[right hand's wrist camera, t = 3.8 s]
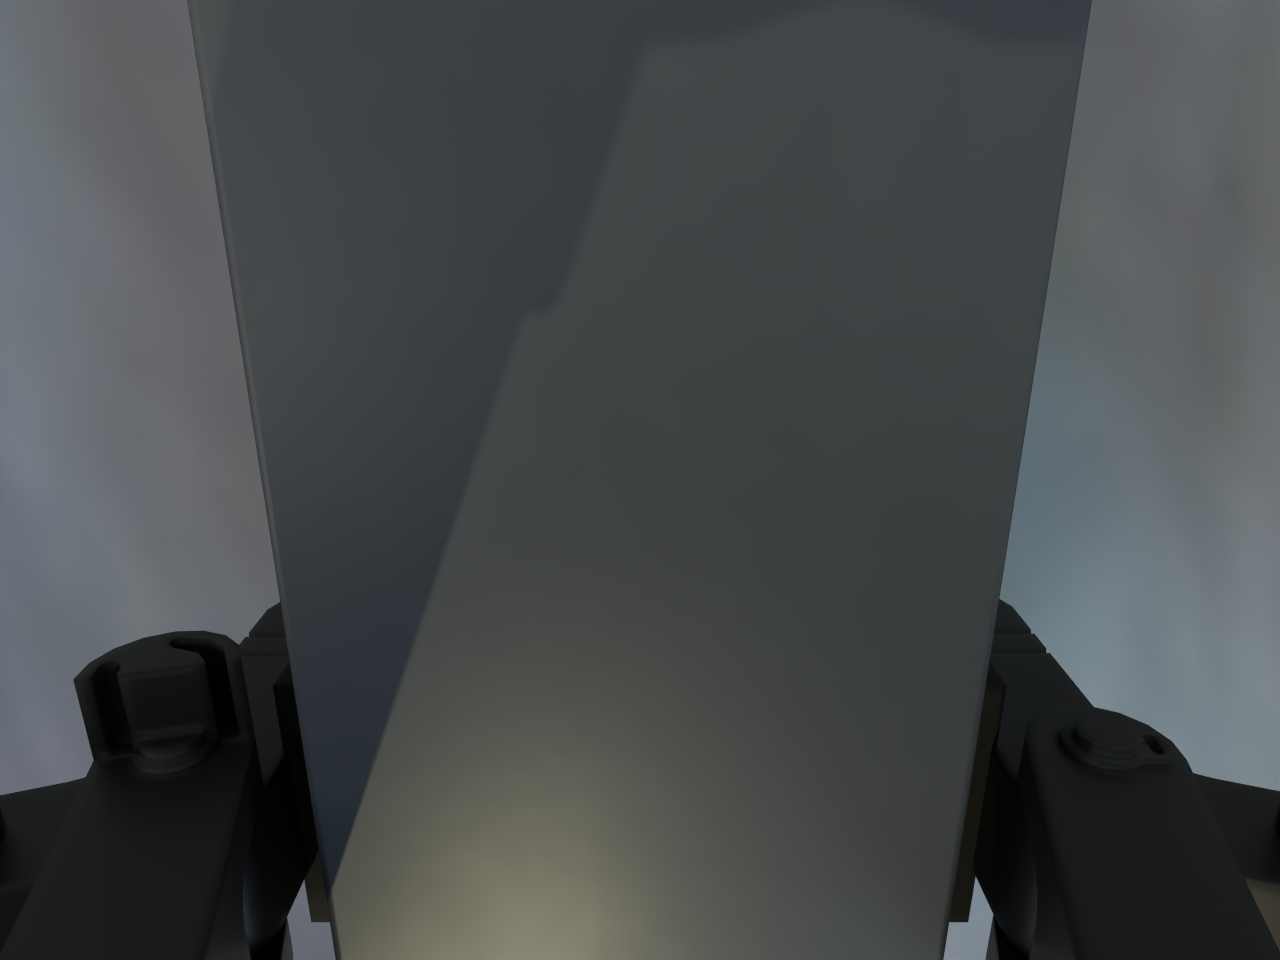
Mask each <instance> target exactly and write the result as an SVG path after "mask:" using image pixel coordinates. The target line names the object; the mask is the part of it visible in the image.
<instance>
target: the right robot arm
mask: <svg viewBox="0 0 1280 960" xmlns="http://www.w3.org/2000/svg"><path fill="white" fill-rule="evenodd" d="M73 680H74V684H75V688H76V692H77V696H78V700H79V704H80V708H81V712H82V715H83V719H84V723H85V727H86V731H87V735H88V739H89V743H90V747H91V751H92V755H93V759H94V761H93V763H92V765H91V767H90V770H89V772H88V774H87V776H86V778H82V779H78V780H74V781H70V782H66V783H61V784H56V785H51V786H46V787H41V788H36V789H31V790H26V791H21V792H15V793H10V794H5V795H0V960H293V951H292V944H291V937H290V931H289V926H288V920H287V915H288V913H289V911H290V909H291V907H292V905H293V902H294V900H295V898H296V896H297V894H298V891H299V889H300V887H301V885H302V883H303V881H304V880H305V886H306V892H307V898H308V904H309V910H310V916H311V922H330V919H329V912H328V906H327V899H326V893H325V886H324V880H323V873H322V867H321V860H320V854H319V847H318V841H317V835H316V828H315V822H314V815H313V809H312V802H311V796H310V789H309V783H308V776H307V770H306V763H305V757H304V751H303V744H302V738H301V731H300V725H299V718H298V712H297V705H296V699H295V692H294V686H293V679H292V673H291V667H290V660H289V654H288V647H287V641H286V634H285V628H284V621H283V615H282V608H281V602H279V603H278V604H276V605H275V606H273V607H271V608H270V609H268V610H267V611H266V612H265V614H264V615H263V616H262V617H261V619H260V620H259V621H258V622H257V624H256V625H255V626H254V627H253V629H252V630H251V631H250V632H249V637H245V638H244V640H243V641H242V642H241V643H240V645H238V644H237V643H236V642H234V641H233V640H231V639H230V638H229V637H227V636H226V635H221V634H217V633H212V632H207V631H179V632H171V633H166V634H161V635H156V636H151V637H146V638H142V639H139V640H137V641H134V642H131V643H128V644H126V645H123V646H120V647H117V648H115V649H113V650H111V651H109V652H108V653H106V654H104V655H102V656H101V657H99V658H97V659H96V660H94V661H92V662H90V663H89V664H88V665H87V666H86V667H85V668H84V669H83V670H82V671H81V672H80V673H79V674H78V675H77V676H76V677H75V678H74V679H73ZM975 876H976V877H977V880H978V882H979V884H980V886H981V888H982V890H983V893H984V895H985V897H986V899H987V901H988V903H989V906H990V908H991V910H992V912H993V920H992V926H991V931H990V937H989V943H988V948H987V954H986V960H1280V791H1275V790H1270V789H1265V788H1260V787H1255V786H1250V785H1244V784H1239V783H1234V782H1229V781H1224V780H1219V779H1214V778H1210V777H1206V776H1202V775H1198V774H1194V773H1193V772H1192V770H1191V768H1190V766H1189V764H1188V762H1187V760H1186V758H1185V757H1184V756H1183V755H1182V753H1181V752H1180V751H1179V750H1178V748H1177V747H1176V746H1175V745H1174V743H1173V742H1172V741H1171V740H1169V739H1168V738H1166V737H1165V736H1163V735H1162V734H1160V733H1159V732H1157V731H1156V730H1154V729H1153V728H1152V727H1150V726H1149V725H1147V724H1144V723H1142V722H1139V721H1137V720H1135V719H1132V718H1130V717H1128V716H1125V715H1123V714H1121V713H1117V712H1113V711H1109V710H1104V709H1100V708H1095V707H1093V706H1092V704H1091V703H1090V702H1089V701H1088V699H1087V698H1086V697H1085V696H1084V695H1083V693H1082V692H1081V691H1080V690H1079V688H1078V687H1077V686H1076V685H1075V683H1074V682H1073V681H1072V680H1071V678H1070V677H1069V676H1068V675H1067V674H1066V672H1065V671H1064V670H1063V669H1062V667H1061V666H1060V665H1059V664H1058V662H1057V661H1056V660H1055V659H1054V658H1053V656H1052V655H1051V654H1050V653H1046V648H1045V646H1044V645H1043V644H1042V643H1041V641H1040V640H1039V639H1038V638H1037V637H1036V635H1035V634H1031V629H1030V628H1029V627H1028V625H1027V624H1026V623H1025V622H1024V621H1023V619H1022V618H1021V617H1020V616H1019V614H1018V613H1017V612H1016V611H1015V609H1014V608H1013V607H1012V606H1010V605H1009V604H1007V603H1005V602H1004V601H1002V600H1000V599H999V602H998V609H997V615H996V622H995V628H994V635H993V641H992V648H991V654H990V661H989V667H988V674H987V680H986V686H985V693H984V699H983V706H982V712H981V719H980V725H979V732H978V738H977V745H976V751H975V757H974V764H973V770H972V777H971V783H970V790H969V796H968V803H967V809H966V816H965V822H964V828H963V835H962V841H961V848H960V854H959V861H958V867H957V874H956V880H955V887H954V893H953V900H952V906H951V912H950V919H949V922H968V919H969V913H970V907H971V901H972V895H973V888H974V882H975Z"/></svg>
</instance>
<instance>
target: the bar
mask: <svg viewBox="0 0 1280 960" xmlns="http://www.w3.org/2000/svg"><path fill="white" fill-rule="evenodd" d="M187 1H188V7H189V14H190V20H191V27H192V33H193V40H194V46H195V53H196V59H197V66H198V72H199V78H200V85H201V91H202V98H203V104H204V111H205V117H206V124H207V130H208V137H209V143H210V150H211V156H212V162H213V169H214V175H215V182H216V188H217V195H218V201H219V208H220V214H221V221H222V227H223V234H224V240H225V246H226V253H227V259H228V266H229V272H230V279H231V285H232V292H233V298H234V305H235V311H236V318H237V324H238V330H239V337H240V343H241V350H242V356H243V363H244V369H245V376H246V382H247V389H248V395H249V402H250V408H251V414H252V421H253V427H254V434H255V440H256V447H257V453H258V460H259V466H260V473H261V479H262V486H263V492H264V499H265V505H266V511H267V518H268V524H269V531H270V537H271V544H272V550H273V557H274V563H275V570H276V576H277V583H278V589H279V595H280V602H281V608H282V615H283V621H284V628H285V634H286V641H287V647H288V654H289V660H290V667H291V673H292V679H293V686H294V692H295V699H296V705H297V712H298V718H299V725H300V731H301V738H302V744H303V751H304V757H305V763H306V770H307V776H308V783H309V789H310V796H311V802H312V809H313V815H314V822H315V828H316V835H317V841H318V847H319V854H320V860H321V867H322V873H323V880H324V886H325V893H326V899H327V906H328V912H329V919H330V925H331V931H332V938H333V944H334V951H335V957H336V960H943V958H944V951H945V945H946V938H947V932H948V925H949V919H950V912H951V906H952V900H953V893H954V887H955V880H956V874H957V867H958V861H959V854H960V848H961V841H962V835H963V828H964V822H965V816H966V809H967V803H968V796H969V790H970V783H971V777H972V770H973V764H974V757H975V751H976V745H977V738H978V732H979V725H980V719H981V712H982V706H983V699H984V693H985V686H986V680H987V674H988V667H989V661H990V654H991V648H992V641H993V635H994V628H995V622H996V615H997V609H998V602H999V596H1000V590H1001V583H1002V577H1003V570H1004V564H1005V557H1006V551H1007V544H1008V538H1009V531H1010V525H1011V519H1012V512H1013V506H1014V499H1015V493H1016V486H1017V480H1018V473H1019V467H1020V460H1021V454H1022V448H1023V441H1024V435H1025V428H1026V422H1027V415H1028V409H1029V402H1030V396H1031V389H1032V383H1033V376H1034V370H1035V364H1036V357H1037V351H1038V344H1039V338H1040V331H1041V325H1042V318H1043V312H1044V305H1045V299H1046V293H1047V286H1048V280H1049V273H1050V267H1051V260H1052V254H1053V247H1054V241H1055V234H1056V228H1057V222H1058V215H1059V209H1060V202H1061V196H1062V189H1063V183H1064V176H1065V170H1066V163H1067V157H1068V150H1069V144H1070V138H1071V131H1072V125H1073V118H1074V112H1075V105H1076V99H1077V92H1078V86H1079V79H1080V73H1081V67H1082V60H1083V54H1084V47H1085V41H1086V34H1087V28H1088V21H1089V15H1090V8H1091V2H1092V0H187Z"/></svg>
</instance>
